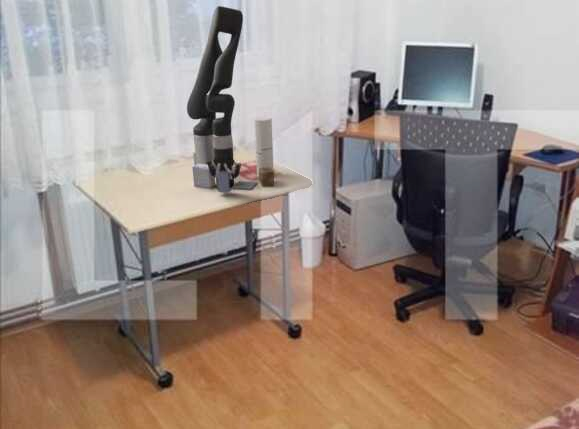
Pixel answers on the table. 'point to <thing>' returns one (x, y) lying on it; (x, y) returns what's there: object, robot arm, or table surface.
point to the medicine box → (203, 176)
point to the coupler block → (223, 182)
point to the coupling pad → (244, 185)
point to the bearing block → (266, 176)
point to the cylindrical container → (263, 142)
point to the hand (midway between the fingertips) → (225, 186)
